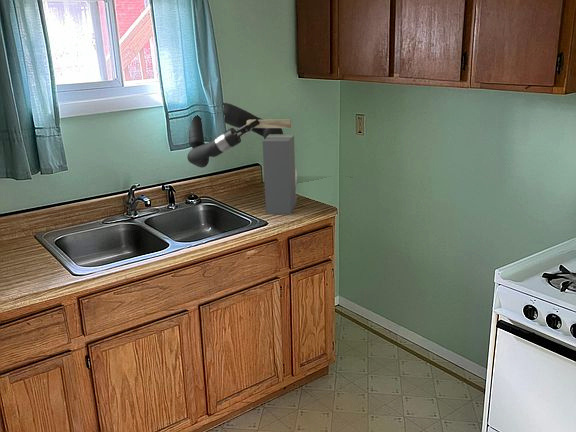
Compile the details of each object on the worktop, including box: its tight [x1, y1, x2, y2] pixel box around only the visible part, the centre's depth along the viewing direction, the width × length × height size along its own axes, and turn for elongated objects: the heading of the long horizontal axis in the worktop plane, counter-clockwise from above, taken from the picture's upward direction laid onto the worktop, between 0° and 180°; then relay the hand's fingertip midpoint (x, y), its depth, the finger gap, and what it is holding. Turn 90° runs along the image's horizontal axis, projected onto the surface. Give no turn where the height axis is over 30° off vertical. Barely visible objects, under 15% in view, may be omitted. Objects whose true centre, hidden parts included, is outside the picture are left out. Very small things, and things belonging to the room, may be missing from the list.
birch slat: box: [247, 119, 293, 129], centre depth 255 cm, size 4×19×3 cm, turn 80°
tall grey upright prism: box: [262, 133, 297, 215], centre depth 257 cm, size 14×11×32 cm
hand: (259, 120), depth 255 cm, fingers closed on birch slat, 4 cm apart
